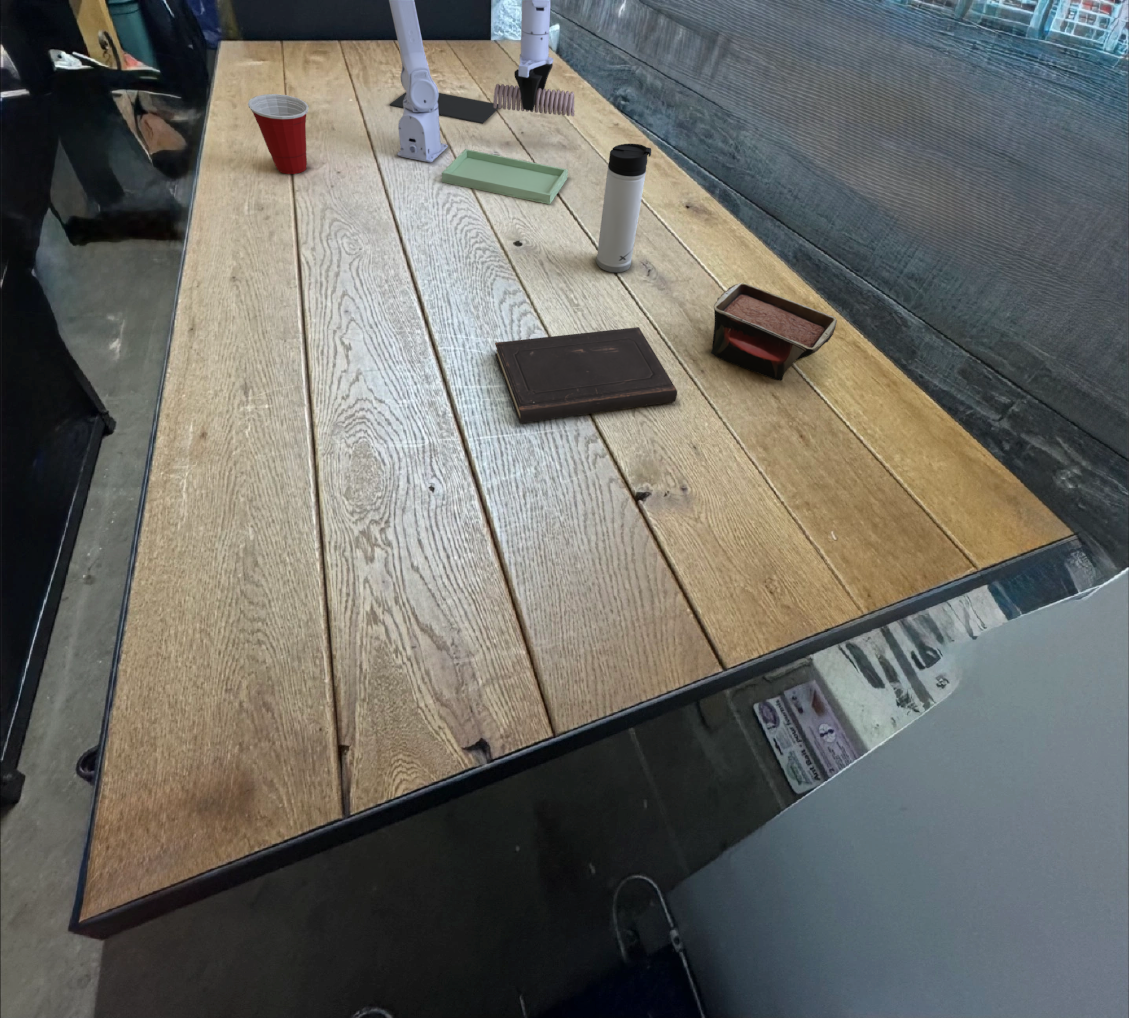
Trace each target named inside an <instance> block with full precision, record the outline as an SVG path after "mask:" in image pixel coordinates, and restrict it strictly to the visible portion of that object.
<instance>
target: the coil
mask: <svg viewBox="0 0 1129 1018" xmlns="http://www.w3.org/2000/svg"><path fill="white" fill-rule="evenodd" d="M492 103H493V107H494V108H495V109H496V108H497V104H498V110H502V109H503V110H506V109H507V110H508V111H510V110H512V111H517V112H520V111H521V112H526V113H529V111H530V110H525V109H523V105H522V99H521V93H520V89H519V86H518V85H513V84H511V85H509V84H506V85H505V84H503V83H501V84H500V83H496V85H495V87H494V91H493V102H492ZM530 113H536V114H538V113H539V114H543V113H544V114H545V115H546V114H547V113H548V114H549V115H553V116H555V115H558V116H561V115H562V116H563V117H564V116H567V117H570V116H571V117H574V116H575V92H574V91H573V90H572V91H569V90H566V91H565V90H560V89H558V90H557V89H556V90H555V89H552V90H551V89H550V88H548V89H546V88H545V89H543V90H542V89H541V88H539V89H538V91H537V92H536V99H535V105H534V109H533V111H530Z"/></svg>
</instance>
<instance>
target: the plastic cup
mask: <svg viewBox="0 0 1129 1018" xmlns="http://www.w3.org/2000/svg"><path fill="white" fill-rule="evenodd" d="M247 106H248V108H249V109H250V111H251V113H252V114H253V116H254V118H255V121H256V123H257V125H258V127H259V130H260V132H261V135H262V138H263V139H264V140H263V141H264V142H265V145H266V147H267V151H268V152H269V154H270V157H271V158H272V161H273V163H274V166H275V167H276V169H277V171H278V172H280V173H282V174H286V175H297V174H300V173H303V172H305V171H306V170H307V164H308V161H307V128H306V127H307V126H306V123H307V114H309V104H308V103H307V102H306V101H304V100H303V99H300V98H298V97H297V96H296V97H295V96H292V95H287V94H279V93H269V94H268V93H265V94H264V93H263V94H259V95H256V96H253V97H252V98H250V99H249V100H248V102H247Z"/></svg>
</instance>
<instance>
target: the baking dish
mask: <svg viewBox="0 0 1129 1018" xmlns="http://www.w3.org/2000/svg"><path fill="white" fill-rule="evenodd" d="M713 310H714V312H713V313H714V315H713V316H714V324H713V335H712V344H711V350H710V351H711V352H710V354H711V355H713V356H714V357H716V358H719V359H721V360H723V361H726V362H728V363H730V364H733V365H735V366H737V367H739V368H740V367H741V368H743V369H745V370H748V371H750V372H754V373H756V374H759V375H760V376H765V377H767V378H770V379H772V380H775V381H783V379H784V376H785V374H786V372H787V371H788V370H789V369H790V368H791V366H792V365H793V364H794V363H795V362H796V361H798V360H799V361H800V360H802V359H804V358H807V357H809V356H811V355H813V354H815V353H817V352H818V351H819V350H820V349H821V348H822V347H823V346H824V345H825V344H826V343H828V342H829V341H830V340H831V339H832V337H833V336H834V333H835V330H836V326H837V322H838V320H837V318H836V317H835V316H833V315H831V314H830V315H829V314H827V313H825V312H822V311H819V310H817V309H814V308H811V307H809V306H807V305H803V304H801V303H798V302H795V301H794V300H791V299H788V298H786V297H783V296H780V295H778V294H775V293H772V292H770V291H768V290H764V289H762V288H759V287H757V286H753V285H751V284H750V283H749V284H748V283H744V282H739V283H736V284H733V285H732V286H729V288H728V289H726V291H725V292H723V293H722V294H721V295H720V296H719V297H717V299H716V301H715V303H714V304H713Z"/></svg>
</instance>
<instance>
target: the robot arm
mask: <svg viewBox="0 0 1129 1018" xmlns="http://www.w3.org/2000/svg"><path fill="white" fill-rule="evenodd" d="M388 3H389V7H390V12H391V16H392V20H393V25H394V30H395V35H396V39H397V44H398V47H399V52H400V53H399V54H400V55H399V56H400V62H401V72H400V83H401V87H402V89H403V90H404V91H405V93H407V94H406V96H405V98H404V100H403V107H404V108H403V112H402V115H401V117H400V119H399V120H398V126H397V127H398V136H399V137H398V138H399V146H400V147H399V148H400V150H399V151H398V152H397V154H396V155H397V156H398V157H400V158H401V157H402V158H407V159H411V160H414V161H420V162H425V163H433V162H434V161H435V160H436V159H437V158H438V157H439V156H440V155H441V154H442V153H444V151H446V150H447V148H448V147H449V146H448V144H446V143H443V142H441V127H440V115H439V110H438V102H437V101H438V96H439V93H440V92H439V88H438V86H437V84H436V82H435V81H434V79H433V78H432V75H431V72H430V67H429V64H428V59H427V57H426V53H425V48H424V43H423V37H422V34H421V28H420V23H419V18H418V12H417V8H416V2H415V0H388ZM550 23H551V0H522V1H521V24H520V25H521V27H520V54H519V65H518V69H516V70H514V73H513V74H514V76H513V77H514V79H515V81H516V83H517V86H518V87H519V89H520V93H521V99H522V105H523V109H524V111H526V110H529V111H533V109H534V110H535V99H536V92H537V91H538V89H539V88H541V89H542V90H543V89H546V86H547V85H546V84H547V81H548V78H549V75H550V72H551V71H552V69H553V66H554V58H553V57H550V56H549V55H550V54H549V53H550V47H549V46H550V45H549V42H550ZM533 112H534V111H533Z"/></svg>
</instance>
